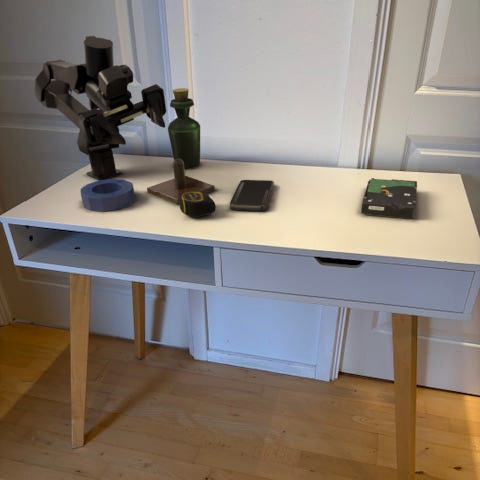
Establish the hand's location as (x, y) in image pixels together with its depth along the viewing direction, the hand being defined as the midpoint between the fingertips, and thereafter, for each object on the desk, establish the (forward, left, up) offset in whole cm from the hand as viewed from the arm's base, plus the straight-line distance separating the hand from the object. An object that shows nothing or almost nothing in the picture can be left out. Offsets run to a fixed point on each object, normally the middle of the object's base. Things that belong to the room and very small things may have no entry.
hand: (145, 133), depth 99 cm
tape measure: (+11, +3, -15) cm, 19 cm away
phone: (+14, +16, -15) cm, 26 cm away
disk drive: (+38, +32, -15) cm, 52 cm away
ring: (-9, -6, -15) cm, 18 cm away
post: (-1, +8, -15) cm, 17 cm away
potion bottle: (-14, +21, -15) cm, 29 cm away
